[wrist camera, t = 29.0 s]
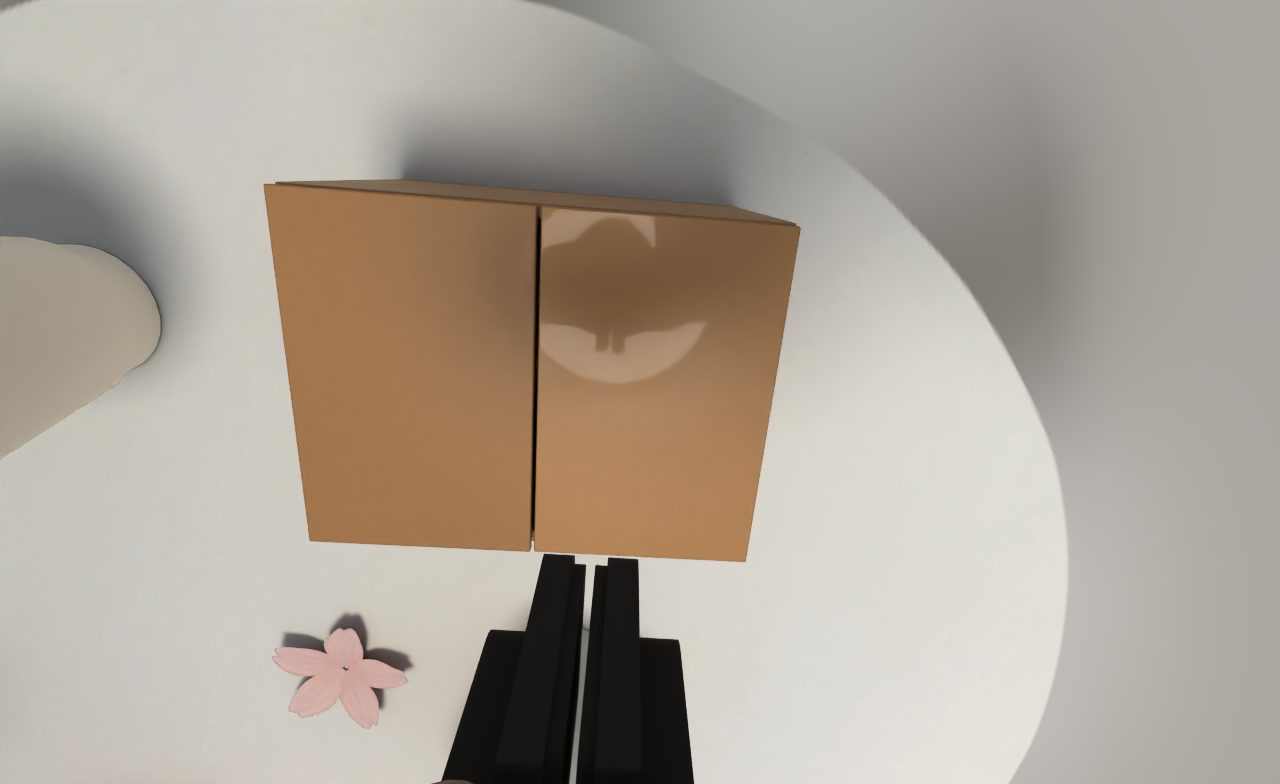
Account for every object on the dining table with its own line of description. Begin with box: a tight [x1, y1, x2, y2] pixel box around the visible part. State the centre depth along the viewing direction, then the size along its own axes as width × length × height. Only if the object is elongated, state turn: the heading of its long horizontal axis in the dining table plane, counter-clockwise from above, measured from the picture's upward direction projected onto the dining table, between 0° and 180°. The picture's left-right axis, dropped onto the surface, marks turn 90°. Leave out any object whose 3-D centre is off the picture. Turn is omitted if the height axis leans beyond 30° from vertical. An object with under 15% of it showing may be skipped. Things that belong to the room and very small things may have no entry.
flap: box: [534, 206, 801, 562], centre depth 21 cm, size 8×13×1 cm, turn 175°
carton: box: [264, 179, 796, 552], centre depth 27 cm, size 17×13×12 cm
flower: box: [272, 628, 408, 729], centre depth 39 cm, size 10×10×2 cm
